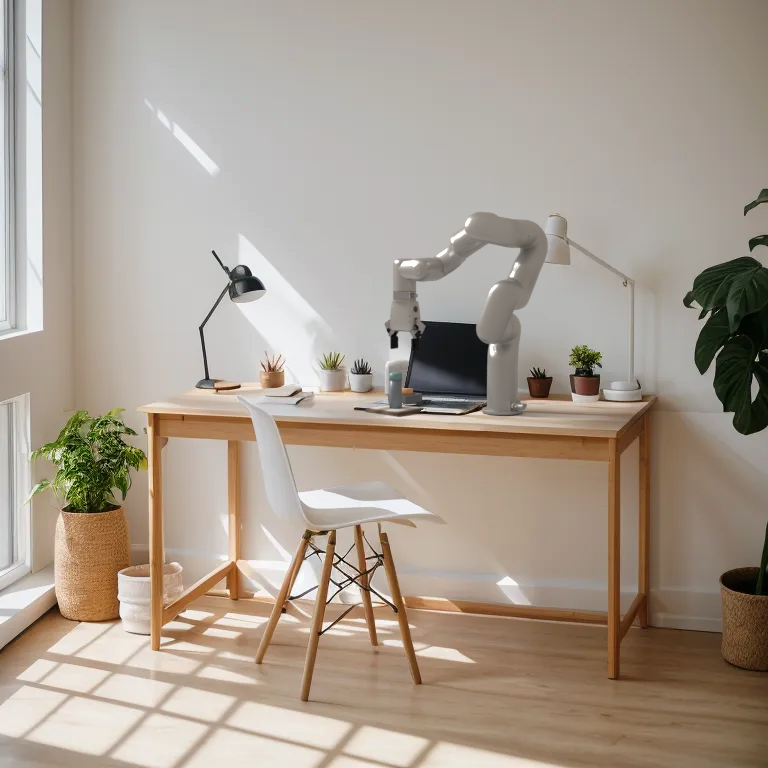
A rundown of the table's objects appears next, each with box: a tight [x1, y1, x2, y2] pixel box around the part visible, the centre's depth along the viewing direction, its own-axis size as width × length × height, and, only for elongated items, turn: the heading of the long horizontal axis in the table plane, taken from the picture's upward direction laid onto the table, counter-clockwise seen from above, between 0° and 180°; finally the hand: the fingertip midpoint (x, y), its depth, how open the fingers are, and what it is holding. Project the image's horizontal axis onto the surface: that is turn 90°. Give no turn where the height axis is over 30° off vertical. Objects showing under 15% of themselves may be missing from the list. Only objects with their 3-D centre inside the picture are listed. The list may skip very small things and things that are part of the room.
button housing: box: [387, 392, 423, 404], centre depth 329 cm, size 8×8×4 cm
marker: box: [389, 372, 402, 409], centre depth 313 cm, size 4×4×11 cm
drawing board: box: [365, 404, 427, 417], centre depth 314 cm, size 14×13×1 cm
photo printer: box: [384, 358, 410, 396], centre depth 352 cm, size 10×4×12 cm, turn 109°
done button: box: [402, 387, 414, 396], centre depth 328 cm, size 5×5×2 cm
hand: (404, 349), depth 326 cm, fingers open, 8 cm apart
